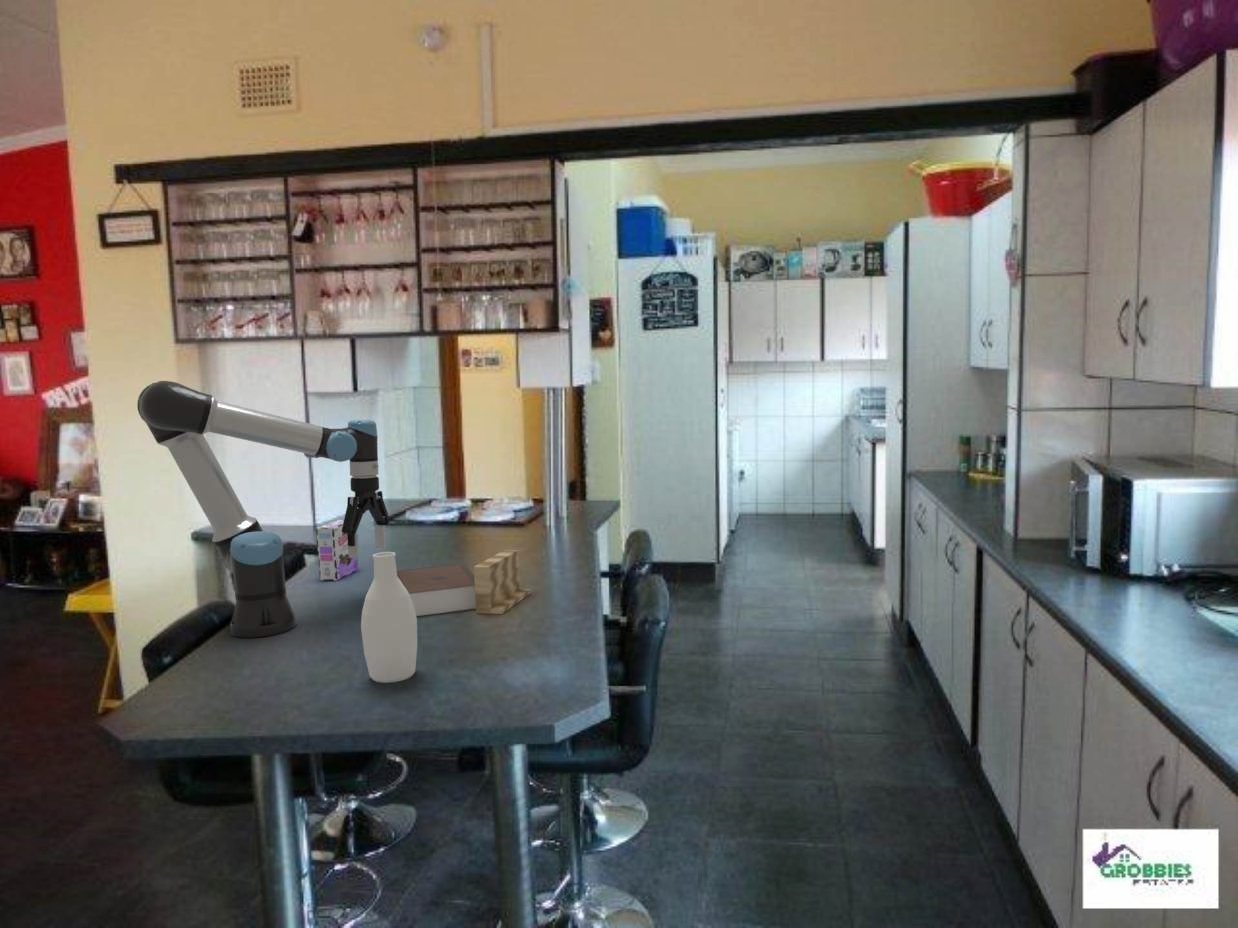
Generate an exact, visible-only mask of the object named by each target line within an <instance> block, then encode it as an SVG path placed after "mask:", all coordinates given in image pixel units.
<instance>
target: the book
mask: <svg viewBox="0 0 1238 928" xmlns="http://www.w3.org/2000/svg"><path fill="white" fill-rule="evenodd" d="M397 576H398V578H399V579H400V581H401V582H402V584H403V585H404V587H405V588H406V589H407V591H408V593H409V595H410V598H411V600H412V603H413V605H414V609H415V613H416V617H421V616H427V615H435V614H437V615H438V614H444V613H451V612H459V611H467V610H474V609H475V610H476V598H475V582H474V573H473V572H472V571H471V570H470V569H469V567H468V566H467V565H466V563H463V562H462V563H455V564H448V565H447V564H446V565H437V566H430V567H421V568H412V569H404V570H403V569H402V570H401V569H400V570H397Z"/></svg>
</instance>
